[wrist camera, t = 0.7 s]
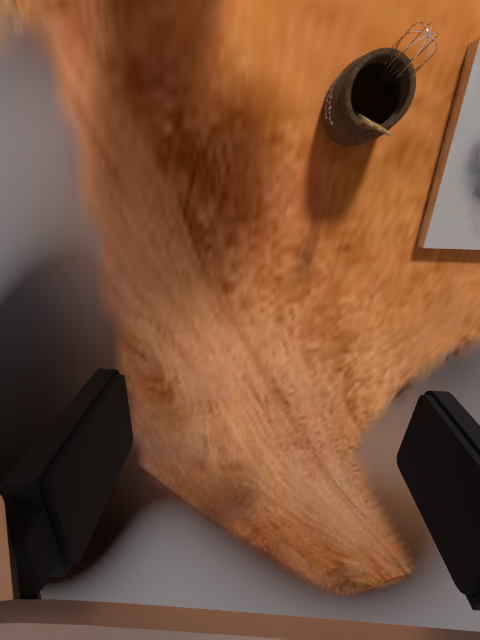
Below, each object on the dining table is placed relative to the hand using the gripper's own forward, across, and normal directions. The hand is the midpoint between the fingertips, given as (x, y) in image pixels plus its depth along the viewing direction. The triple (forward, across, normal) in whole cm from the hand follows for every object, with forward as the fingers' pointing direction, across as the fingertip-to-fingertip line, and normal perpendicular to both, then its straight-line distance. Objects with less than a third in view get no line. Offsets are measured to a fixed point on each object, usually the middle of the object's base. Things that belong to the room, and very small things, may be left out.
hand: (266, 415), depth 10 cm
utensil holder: (+27, -8, -13) cm, 31 cm away
